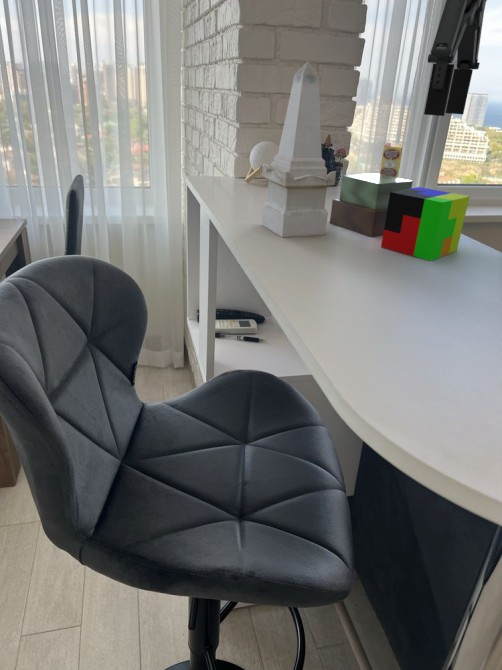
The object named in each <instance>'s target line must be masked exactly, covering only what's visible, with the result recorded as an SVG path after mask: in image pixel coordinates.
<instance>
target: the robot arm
mask: <svg viewBox="0 0 502 670" xmlns="http://www.w3.org/2000/svg"><path fill="white" fill-rule="evenodd" d="M487 1H488V0H446V1H445V4H444V7H443V10H442V13H441V17H440V20H439V23H438V26H437V30H436V34H435V36H434V40H433V43H432V47H431V49H430V53H429V54H428V56H427V63H428V64H433V65H432V69H431V74H430V75H431V76H430V80H429V85H428V90H427V96H426V102H425V106H424V111H423V115H426V116H439V117H445V114H453V115H464V113H465V108H466V103H467V99H468V95H469V90H470V85H471V80H472V76H473V75H472V74H473V71H474V70H479V68H480V65H481V64H480V63H481V62H478V61H479V53H480V45H481V37H482V30H483V23H484V15H485V10H486V3H487ZM456 55H457V57H456ZM455 57H456V68H455V64H454V63H453V62H454V60H455Z"/></svg>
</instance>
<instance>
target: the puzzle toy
mask: <svg viewBox="0 0 502 670" xmlns="http://www.w3.org/2000/svg"><path fill="white" fill-rule="evenodd" d="M470 198H471V196H470V195H464V194H459V193H455V192H449V191H443V190H437V189H431V188H426V187H421V186H416V187H412V188H410V189H405V190H399V191H394V192H390V196H389V202H388V208H387V214H386V220H385V226H384V232H383V235H382V239H381V243H380V248H383V249H386V250H390V251H393V252H396V253H400V254H404V255H408V256H411V257H415V258H419V259H423V260H426V261H430V262H431V261H434V260H437V259H439V258H442V257H445V256H447V255H451V254H453V253H455V252H457V251H458V248H459V244H460V243H459V242H460V239H461V234H462V230H463V226H464V223H465V217H466V215H467V210H468V205H469V201H470Z"/></svg>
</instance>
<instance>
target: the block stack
mask: <svg viewBox="0 0 502 670" xmlns="http://www.w3.org/2000/svg"><path fill="white" fill-rule="evenodd" d="M410 188H413V180H412V179H411V180H410V179H405V178H400V177H398V178H396V177H392V176H387V175H382V174H380V173H377V172H374V173H357V174H356V173H355V174H344V175H342V177H341V183H340V190H339V191H340V193H339V198H334V199H332V201H331V209H330V218H329V224H332V225H334V226H338V227H341V228H344V229H346V230H350V231H352V232H356V233H358V234H362V235H365V236H367V237H370V238H371V237H378V236H383V232H384V226H385V220H386V214H387V208H388V202H389V196H390V192H394V191H399V190H405V189H410Z"/></svg>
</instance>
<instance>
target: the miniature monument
mask: <svg viewBox="0 0 502 670" xmlns="http://www.w3.org/2000/svg"><path fill="white" fill-rule="evenodd" d="M321 128H322V125H321V97H320V75H319V74H318V72H317V71H316V70H315V68H314V67H313V65H312V64H311V63H310V61H309V60H307V61H306V62H305V63H304V64H303V65H302V66H301V67H300V68H299V69H298V70H297V72H295V73H294V76H293V81H292V85H291V90H290V95H289V100H288V104H287V109H286V114H285V118H284V122H283V128H282V132H281V137H280V142H279V148H278V151H277V154H275V155H274V156H273V161H272V162H271V163H270V166H269V164H267V163H264V162H263V163H262V167H261V177H263V178H264V179H266V180H267V183H268V184H267V196H266V197H267V198H266V201H264V203H262V215H261V217H262V218H261V226H263V227H265V228H266V229H268V230H269V231H271V232H272V233H274V234H276V235H278V236H279V237H281V238H292V237H294V238H295V237H307V236H324V235H325V236H326V232H327V224H328V217H329V212H328V211H327V209H326V208H325V207H326V197H327V188H329V187H332V186H335V185H336V179H337V178H336V177H337V170H334V171H330V172H329V173H328V168H327V167H326V160H325V159H324V158H323V154H322V152H323V151H322V129H321ZM327 173H328V174H327Z"/></svg>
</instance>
